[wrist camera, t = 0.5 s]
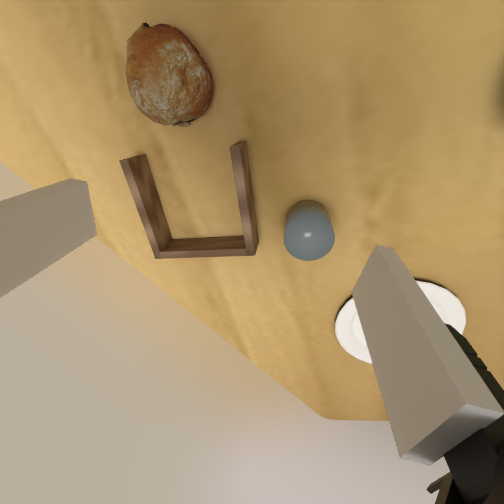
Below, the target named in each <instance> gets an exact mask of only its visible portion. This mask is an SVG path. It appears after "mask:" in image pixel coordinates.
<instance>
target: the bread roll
mask: <svg viewBox="0 0 504 504" xmlns="http://www.w3.org/2000/svg"><path fill="white" fill-rule="evenodd" d="M127 58H128V59H127V63H126V69H125V71H126V75H127V81H128V86H129V90H130V93H131V96H132V98H133V100H134V103H135V104H136V106H137V107H138V108H139V110H140V111H141V112H142V113H143V114H144V115H145V116H147V117H148V118H150V119H151V120H152V121H154V122H157V123H160V124H163V125H170V124H171V125H172V126H175V125H176V124H177V125H179V126H184V127H185V126H188V125H190V122H191V121H193V120H195V119H196V118H199V117H200V116H202V115H203V113H204V112H205V111H206V110H207V108H208V107H209V105H210V102H211V97H212V90H213V86H212V76H211V73H210V70H209V68H208V66H207V64H206V63H205V62H204V60H203V58H202V57H201V56H200V54H199V52H198V50H197V49H196V48H195V47H194V45H193V44H192V43H191V42H190V40H189V39H188V38H187V37H186V36H185V35H184V34H183V33H182V32H181V31H180V30H178V29H176V28H172V27H171V26H170V25H167V24H158V25H156V26H153V27H149V25H148V24H147V23H142V25H141V26H140V27H139V28H138V30H137V31H136V32H135V33H133V35H132V36H131V38H129V39H128V40H127Z"/></svg>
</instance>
